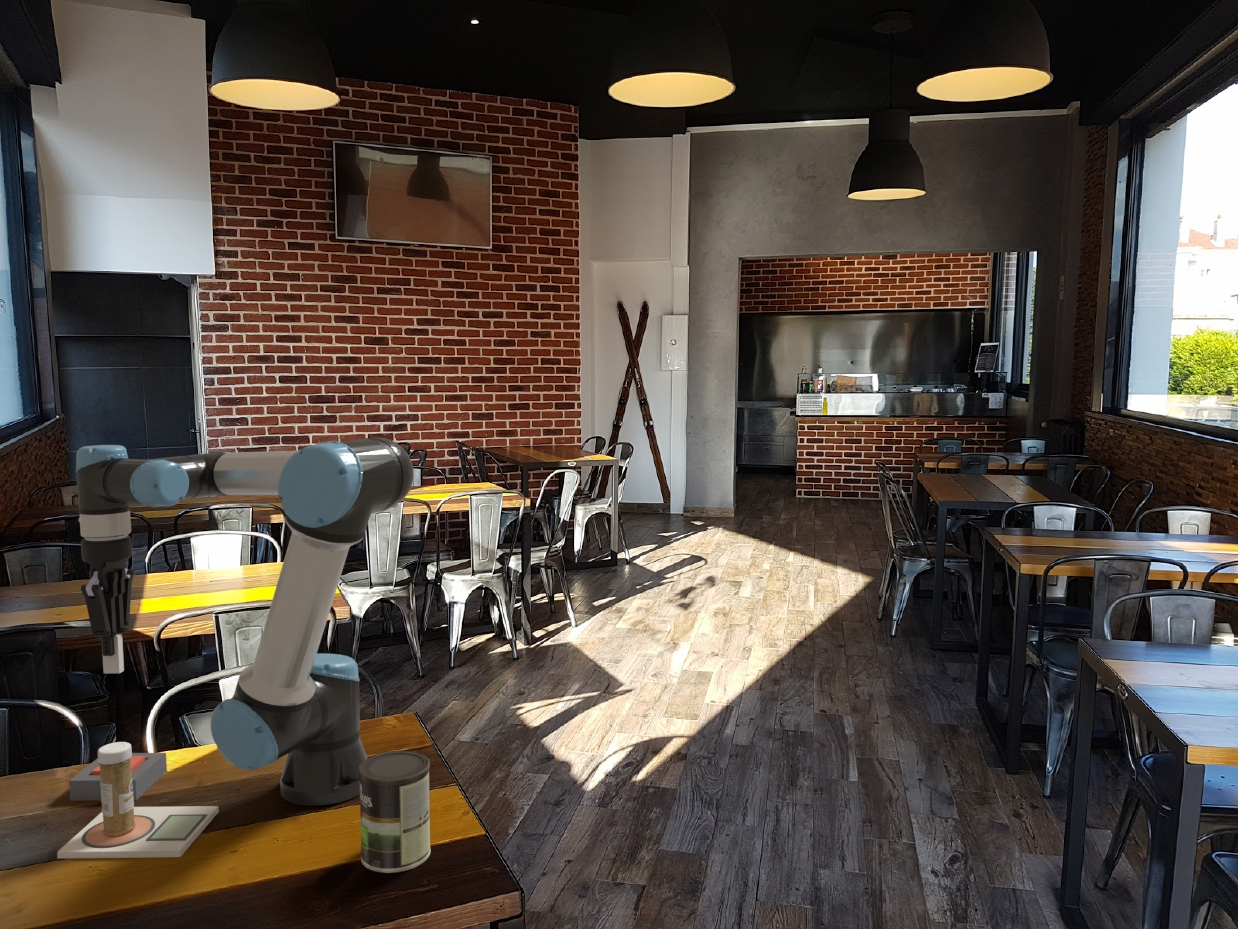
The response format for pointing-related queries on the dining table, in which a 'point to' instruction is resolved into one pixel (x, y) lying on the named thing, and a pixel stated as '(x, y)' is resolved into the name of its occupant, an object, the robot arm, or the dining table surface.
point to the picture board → (143, 834)
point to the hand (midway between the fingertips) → (113, 671)
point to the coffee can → (394, 811)
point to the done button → (135, 763)
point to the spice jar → (116, 788)
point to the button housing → (142, 778)
